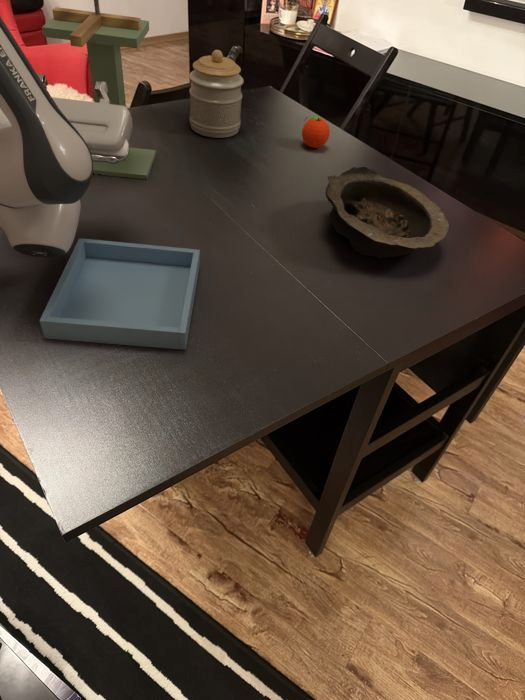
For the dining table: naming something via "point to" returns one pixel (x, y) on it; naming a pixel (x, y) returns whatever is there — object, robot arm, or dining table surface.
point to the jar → (215, 96)
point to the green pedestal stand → (110, 84)
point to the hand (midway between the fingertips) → (71, 80)
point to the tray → (124, 295)
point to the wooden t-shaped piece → (93, 22)
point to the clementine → (315, 132)
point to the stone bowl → (382, 214)
